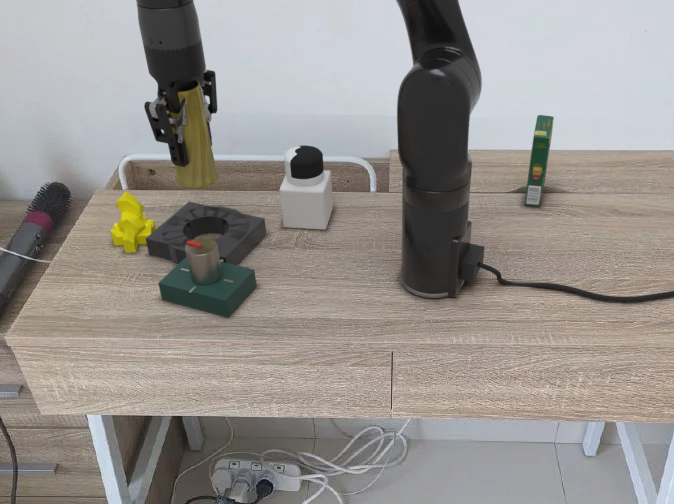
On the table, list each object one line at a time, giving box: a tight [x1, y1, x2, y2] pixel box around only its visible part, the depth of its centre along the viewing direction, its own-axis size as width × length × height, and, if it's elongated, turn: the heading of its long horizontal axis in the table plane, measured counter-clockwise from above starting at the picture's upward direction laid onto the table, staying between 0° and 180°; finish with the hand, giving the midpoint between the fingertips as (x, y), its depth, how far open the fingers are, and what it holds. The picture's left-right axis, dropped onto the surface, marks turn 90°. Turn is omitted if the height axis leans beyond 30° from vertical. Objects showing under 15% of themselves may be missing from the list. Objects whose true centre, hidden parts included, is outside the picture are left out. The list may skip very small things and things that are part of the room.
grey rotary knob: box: [185, 237, 222, 285], centre depth 110 cm, size 4×4×5 cm
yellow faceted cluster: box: [110, 191, 157, 254], centre depth 122 cm, size 6×8×8 cm
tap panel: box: [157, 257, 258, 318], centre depth 112 cm, size 11×9×3 cm
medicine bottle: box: [278, 144, 334, 231], centre depth 125 cm, size 7×7×12 cm
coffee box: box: [524, 114, 555, 208], centre depth 131 cm, size 8×3×13 cm, turn 167°
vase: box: [169, 80, 219, 190], centre depth 111 cm, size 6×6×14 cm
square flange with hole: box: [145, 201, 267, 265], centre depth 122 cm, size 14×13×3 cm
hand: (193, 155), depth 113 cm, fingers closed on vase, 5 cm apart
